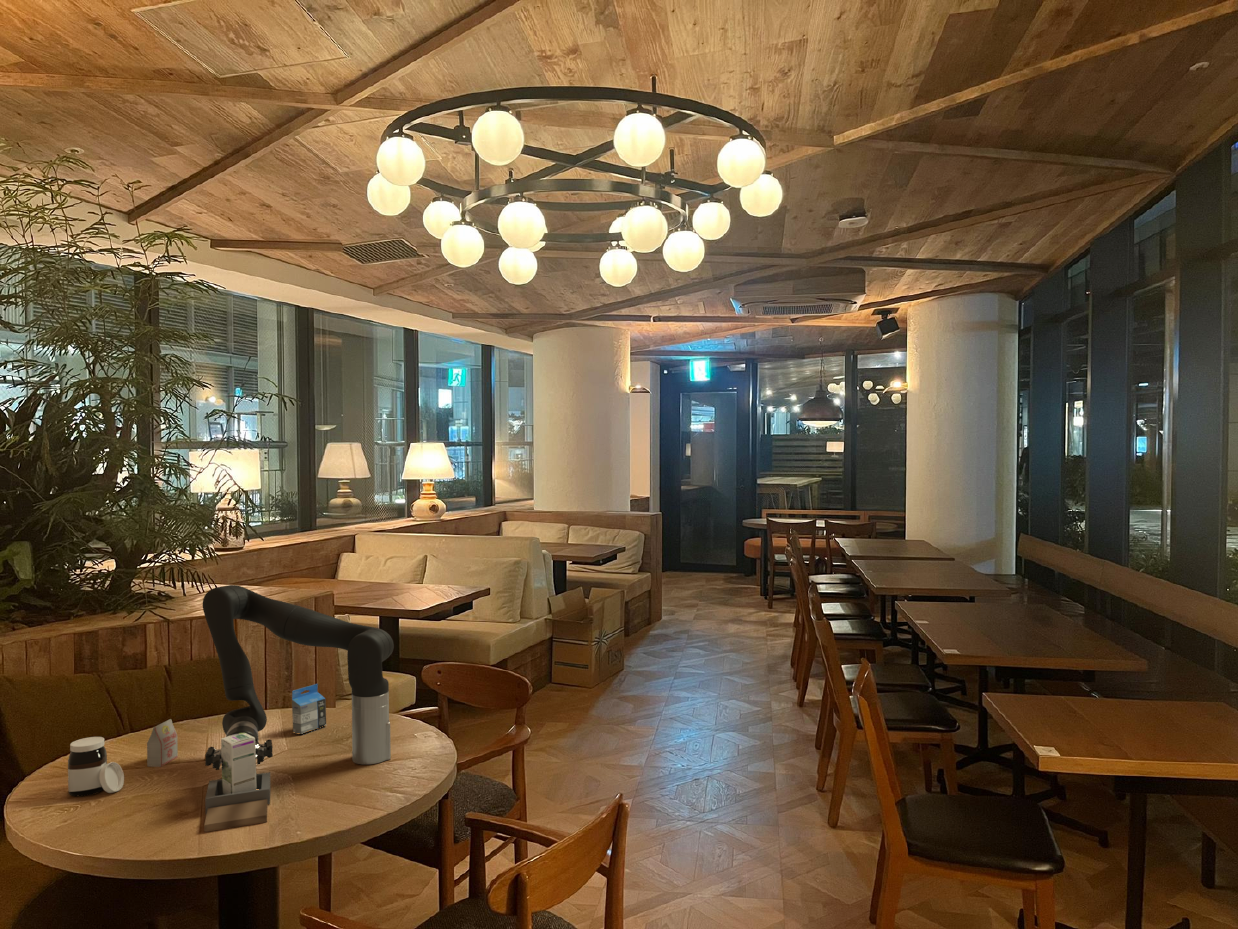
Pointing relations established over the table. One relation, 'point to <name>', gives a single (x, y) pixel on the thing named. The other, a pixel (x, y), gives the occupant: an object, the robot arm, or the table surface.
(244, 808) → the walnut pad
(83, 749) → the spread jar
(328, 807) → the table surface
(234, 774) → the syrup box
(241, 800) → the gray open storage bin
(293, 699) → the label tape box
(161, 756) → the white gable top carton
